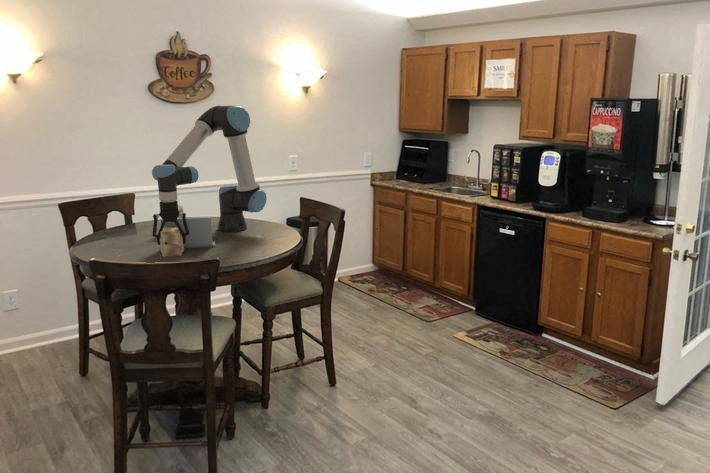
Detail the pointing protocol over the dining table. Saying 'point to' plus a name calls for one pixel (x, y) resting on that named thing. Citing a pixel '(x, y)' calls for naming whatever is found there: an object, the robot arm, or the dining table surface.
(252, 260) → the dining table surface
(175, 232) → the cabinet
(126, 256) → the dining table surface
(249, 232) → the dining table surface
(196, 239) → the wall board
